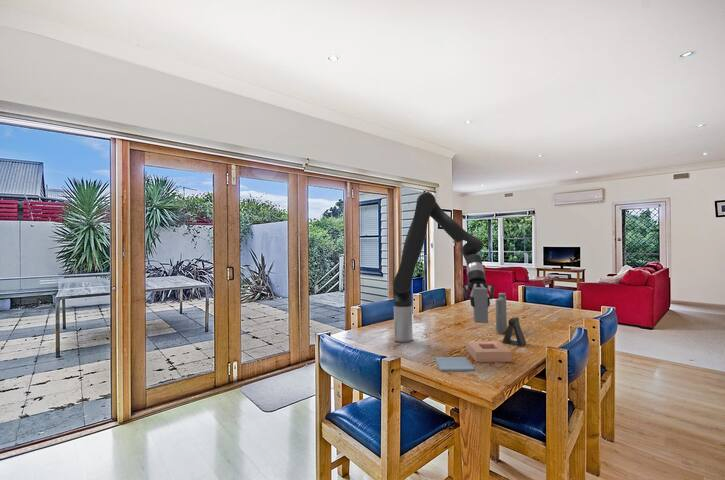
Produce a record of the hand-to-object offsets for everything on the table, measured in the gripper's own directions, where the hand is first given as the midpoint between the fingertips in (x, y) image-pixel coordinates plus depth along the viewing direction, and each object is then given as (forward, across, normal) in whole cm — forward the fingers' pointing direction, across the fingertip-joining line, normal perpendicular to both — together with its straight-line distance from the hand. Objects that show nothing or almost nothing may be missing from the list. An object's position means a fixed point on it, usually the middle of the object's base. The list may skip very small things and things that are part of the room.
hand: (480, 306), depth 143 cm
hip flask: (-17, +18, +49) cm, 55 cm away
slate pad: (+21, -12, +10) cm, 26 cm away
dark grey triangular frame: (-1, +19, +32) cm, 37 cm away
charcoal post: (+4, 0, +5) cm, 7 cm away
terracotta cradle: (+13, +3, +18) cm, 23 cm away
